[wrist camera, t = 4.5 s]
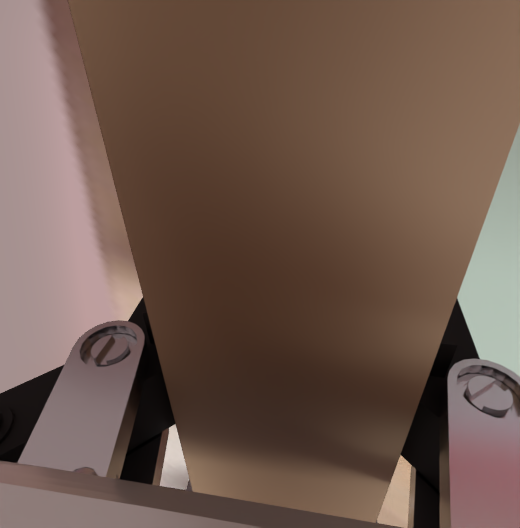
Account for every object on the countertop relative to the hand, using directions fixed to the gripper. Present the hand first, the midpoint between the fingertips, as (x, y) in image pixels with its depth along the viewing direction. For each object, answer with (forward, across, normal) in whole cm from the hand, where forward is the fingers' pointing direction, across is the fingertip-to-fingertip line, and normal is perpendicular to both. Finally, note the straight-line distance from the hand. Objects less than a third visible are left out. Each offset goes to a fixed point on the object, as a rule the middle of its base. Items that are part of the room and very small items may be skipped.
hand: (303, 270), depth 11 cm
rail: (-1, 0, 0) cm, 1 cm away
